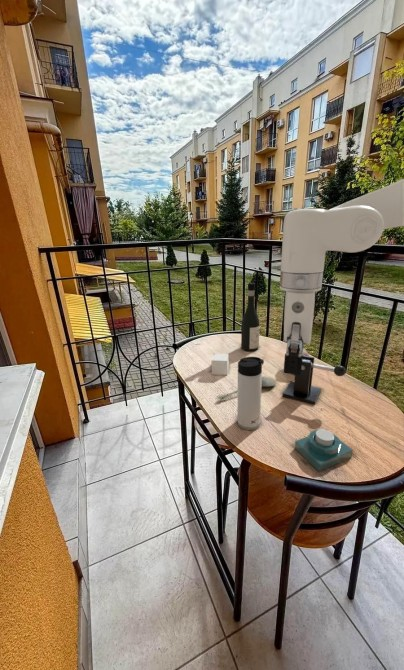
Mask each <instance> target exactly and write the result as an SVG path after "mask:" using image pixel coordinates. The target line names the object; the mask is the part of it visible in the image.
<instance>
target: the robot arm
mask: <svg viewBox="0 0 404 670" xmlns="http://www.w3.org/2000/svg"><path fill="white" fill-rule="evenodd" d="M282 227H283V228H282V242H281V243H282V244H281V245H282V246H281V258H280V259H281V260H280V275H279V290H281V291H284V292H285V296H284V297H285V298H284V310H283V311H284V313H283V341H284V342H286V350H285V353H284V360H283V361H284V362H283V373H284V374H286V375H294V376H295V375H301V368H302V358H303V355H302V350H303V349H304V344H306V345H310V344H311V343H312V333H313V322H314V313H315V301H316V292H320V291H321V290H322V287H323V280H324V279H323V278H324V270H325V262H326V261H325V260H326V254H327V253H326V252H329V251H330V252H331V251H333V252H343V253H359V252H364V251H365V250H367V249H370V248H372V246H374V245H375V244H376V243H377V242H378V241H379V240H380V239H381V237H382V235H383V233H384V230H387V229H393V228H400V227H404V178H401V179H399V180H398V181H395V182H393V183H391V184H388V185H386V186H384V187H381V188H378V189H376V190H373V191H371V192H368V193H366V194H363V195H360V196H359V197H356V198H354V199H351V200H349V201H346V202H344V203H342V204H339V205H337V206H334V207H332V208H329V209H323V208H301V209H300V208H299V209H293V210H290V211H288V212H287V213H286V214H285V216H284V218H283V225H282Z"/></svg>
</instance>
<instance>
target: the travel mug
mask: <svg viewBox="0 0 404 670" xmlns="http://www.w3.org/2000/svg"><path fill="white" fill-rule="evenodd" d="M264 363H265V362H264V358H263V359H262V358H260V357H259V356H246V357H243V358H241V359H239V361H238V362H237V390H238V392H237V425H238V427H240V428H241V429H243V430H246V431H254V430H257V429H258V428H259V427H260V426H261V411H262V410H261V409H262V406H261V405H262V386H261V384H262V377H263V365H264Z"/></svg>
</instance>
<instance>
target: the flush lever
mask: <svg viewBox="0 0 404 670" xmlns="http://www.w3.org/2000/svg"><path fill="white" fill-rule="evenodd" d="M302 360H304V361H309V362H311V360H307V359H302ZM311 367H312V368H313V369H317V370H322V371H327V372H332V373H334V375H335V376H336V377H344V376H345V374H346V372H347V371H346V367H344V366H343V365H336V366H335V367H334V366H329V365H323V364H319V363H315V362H314V363H311Z"/></svg>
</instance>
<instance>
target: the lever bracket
mask: <svg viewBox="0 0 404 670" xmlns="http://www.w3.org/2000/svg"><path fill="white" fill-rule="evenodd" d="M302 359H307V360H311V362H309V361H304V360H302V368H301V375H294V381H292V380H290V382H289V383H288V384H287V386H286V388H285V390H284V391H283V393H282V397H283V398H286V399H290V400H294V401H298V402H302V403H305V404H308V405H313V406H316V404H317V401H318V400H319V398H320V395H321V392H322V388H321V387H316V386H313V384H312V383H313V374H314V368H312V367H311V363H314V364H315V356H310V355H309V356H305V355H303V358H302Z"/></svg>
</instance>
